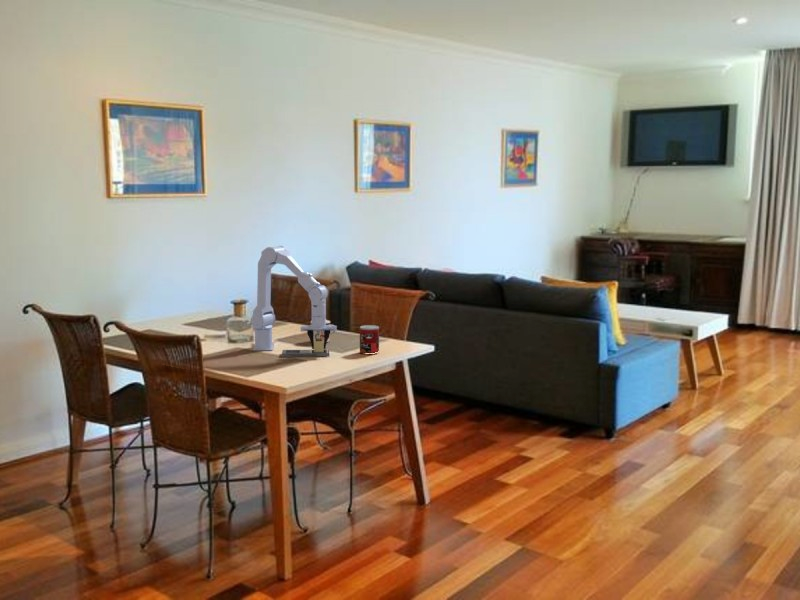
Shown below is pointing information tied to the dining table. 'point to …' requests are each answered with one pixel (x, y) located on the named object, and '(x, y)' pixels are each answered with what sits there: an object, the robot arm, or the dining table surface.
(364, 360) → the dining table surface
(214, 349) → the dining table surface
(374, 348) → the canned food
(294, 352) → the plate with square holes
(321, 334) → the teacup with lid
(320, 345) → the cube with round knob
